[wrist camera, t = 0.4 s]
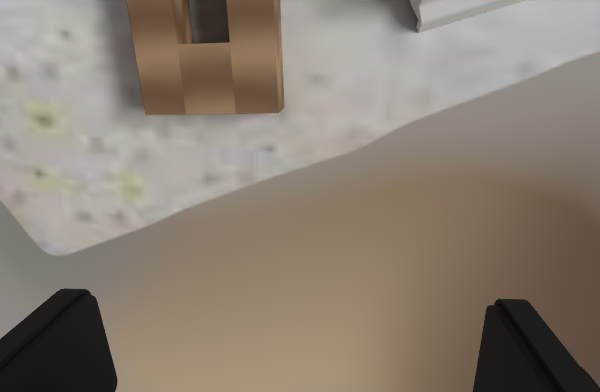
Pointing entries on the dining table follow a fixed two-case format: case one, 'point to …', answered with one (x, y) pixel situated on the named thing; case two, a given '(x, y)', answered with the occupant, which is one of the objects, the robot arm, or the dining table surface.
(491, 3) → the grey half-round piece
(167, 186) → the dining table surface
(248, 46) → the block with square hole
